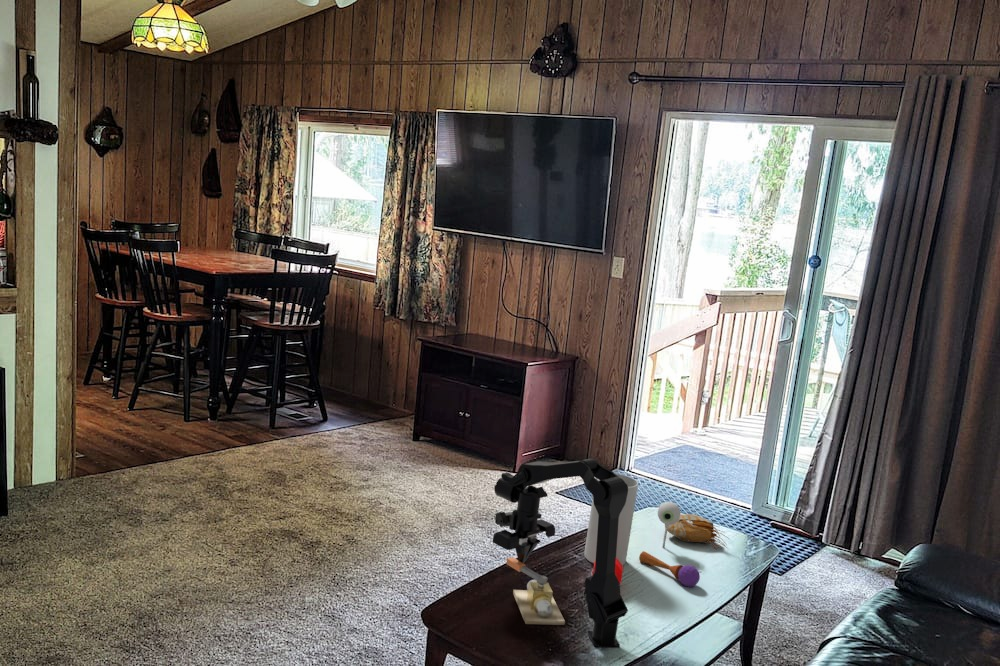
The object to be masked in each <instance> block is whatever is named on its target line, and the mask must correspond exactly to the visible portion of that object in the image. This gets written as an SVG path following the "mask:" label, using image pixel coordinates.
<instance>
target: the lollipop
mask: <svg viewBox="0 0 1000 666" xmlns="http://www.w3.org/2000/svg"><path fill="white" fill-rule="evenodd" d="M681 514H682V513H681V509H680V507H679V506H678V505H677V504H676V503H674V502H671V501H665V502H663V503H661V504H659V506H658V509H657V517H658V519H659V521H660V522H661V523H662V524H664V525H665V524H666V528H665V527H664V528H665V531H664V534H663V542H662V546H661V548H663V549H664V548H665V546H666V540H667V533H668V531H667V529H668V525H673V524H675V523H676V522H678V520H679V519H680V515H681Z"/></svg>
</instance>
